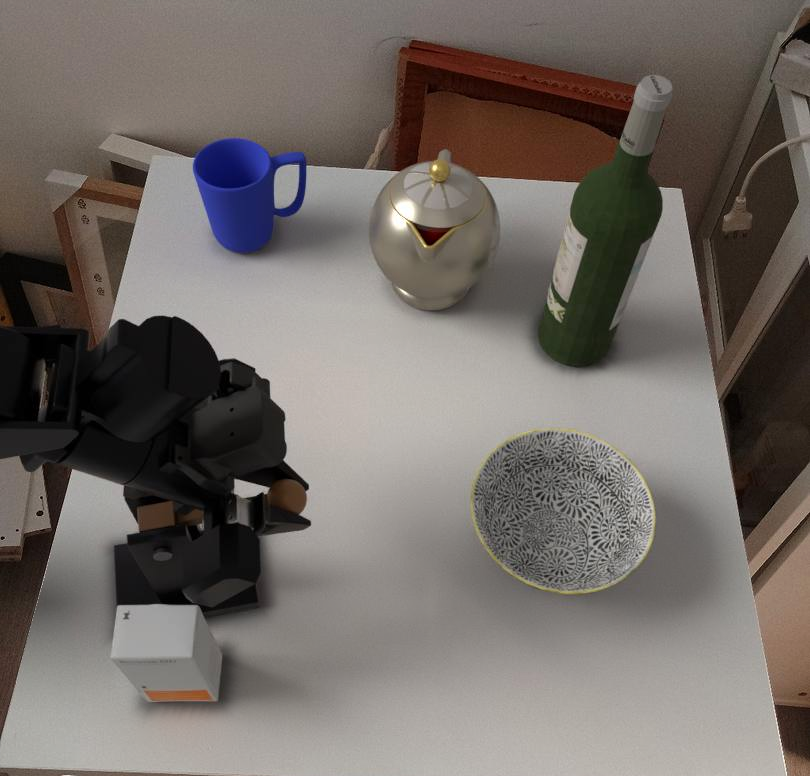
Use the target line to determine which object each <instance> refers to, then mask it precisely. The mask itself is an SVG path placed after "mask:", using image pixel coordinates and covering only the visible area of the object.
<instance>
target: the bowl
mask: <svg viewBox="0 0 810 776" xmlns="http://www.w3.org/2000/svg"><path fill="white" fill-rule="evenodd" d="M655 507H656V506H655V501H654V498H653V495H652V492H651V489H650V487H649V485H648V483H647V481H646V479H645V478H644V476H643V475H642V473H641V472H640V470H639V469H638V468H637V466H636V465H635V464H634V463H633V462H632V461H631V459H630V458H629V457H628V456H627V455H625V454H624V453H623V452H622V451H620V450H619V449H618V448H616V447H615V446H613V445H612V444H610V443H609V442H607V441H606V440H603V439H601V438H600V437H597V436H595V435H593V434H590V433H587V432H583V431H579V430H575V429H571V428H561V427H546V428H537V429H532V430H528V431H524V432H521V433H519V434H517V435H514V436H512V437H510V438H508V439H506V440H505V441H503V442H502V443H500V444H499V445H498V446H496V447H495V448H494V449H493V450H491V452H490V453H489V454H488V455H487V456H486V458H485V459H484V460H483V462H482V463H481V464H480V467H479V468H478V470H477V472H476V474H475V477H474V480H473V483H472V485H471V492H470V510H471V511H470V512H471V518H472V523H473V525H474V529H475V531H476V535H477V537H478V538H479V541H480V542H481V544H482V546H483V547H484V549H485V550H486V551H487V553H488V554H489V555H490V557H491V558H492V560H494V561H495V562H496V563H497V564H498V565H499V566H500V567H501V568H502V569H503V570H504V571H506V572H507V573H508V574H510V575H511V576H512V577H513V578H515V579H516V580H518V581H520V582H521V583H523V584H525V585H527V586H530V587H531V588H534V589H536V590H541V591H544V592H549V593H554V594H555V593H556V594H561V595H583V594H590V593H596V592H600V591H602V590H605V589H608V588H610V587H612V586H615V585H616V584H619V583H620V582H622V581H624V580H625V579H627V578H628V577H629V576H631V574H633V573H634V572H635V571H636V570H637V569H638V568H639V567H640V565H641V564H643V562H644V560H645V558H646V557H647V556H648V553H649V552H650V549H651V547H652V544H653V542H654V538H655V534H656V527H657V526H656V525H657V517H656V516H657V515H656V508H655Z"/></svg>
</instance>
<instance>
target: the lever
mask: <svg viewBox="0 0 810 776" xmlns="http://www.w3.org/2000/svg"><path fill="white" fill-rule="evenodd" d="M264 495H265V498H266V501H267V503H268V504H269V505H272V506H275V507H278V508H281V509H284V510H287V511H290V512H293V513H296V514H298V515H301V514H302V513H303V512H304V510H305V508H306V506H307V502H308V496H307V491H305V489H304V488H303V486H302V485H301V484H300V483H298V482H297V481H295V480H292V479H281V480H278V481H276V482H275V483H274V484H272V485H271V487H270V488H269V487H268V490H267V492H266V493H264ZM255 496H256V495H252V496H247V497H244V498H245V499H248V500H250V499H252V498H253V497H255ZM137 513H138V524H137V528H138V533H139V532H145V531H151V530H157V529H163V528H169V527H174V526H180V525H186V527H188V526H193V525H198V524H199V525H202V510H198V509H195V510H194V511H192V512H191V513H189V514H188V515H186V516H185V515H181V514H178V513H175V512H174V502H173V501H168V502H163V503H157V504H152V505H147V506H141V507H137Z"/></svg>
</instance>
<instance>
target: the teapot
mask: <svg viewBox="0 0 810 776" xmlns="http://www.w3.org/2000/svg"><path fill="white" fill-rule="evenodd" d="M452 159H453V153H452V152H451V151H450V149H447V148H444V149H442V150H440V151H439V152H438V155H437V158H436V159H435V160H428V161H422V162H418V163H414V164H412V165H409V166H407V167H405V168H404V169H402V170H400V171H399V172H397V173H395V175H394V176H392V177H391V178H390V179H389V180H388V181H387V182H386V183H385V184H384V186H383V187H382V189H381V190H380V191H379V193H378V195H377V196H376V198H375V201H374V203H373V205H372V207H371V212H370V216H369V222H368V237H369V238H368V239H369V244H370V245H369V246H370V249H371V252H372V255H373V258H374V260H375V262H376V265H377V266H378V268H379V269H380V271H381V272H382V274H383V275H384V276H385V277H386V279H387V280H388V281H390V283H391V287H392V289H393V291H394V293H395V294H396V295H397V297H398V298H399V299H400V300H401V301H402V302H404V303H405V304H407V305H408V306H410V307H412V308H415V309H419V310H422V311H441V310H445V309H449V308H451V307H454V306H455V305H456V304H458V303H459V302H460V301H462V300H463V298H465V296H466V295H467V293H468V292H469V289H470V288H471V287H473V286H474V285H475V284H476V283H478V282H479V281H480V280H481V279H482V278H483V277H484V276H485V274H486V273H488V272H487V271H488V270H489V269H490V268H491V266H492V264H493V261H494V260H495V257H496V255H497V252H498V248H499V245H500V239H501V218H500V213H499V210H498V206H497V203H496V200H495V199H494V196H493V195H492V192H491V191H490V189H489V188H488V187H487V185H486V184H485V183H484V182H483V181H482V180H481V179H480V178H479V176H477V175H476V174H474V173H473V172H472V171H470V170H469V169H467V168H465V167H463V166H461V165H459V164H456V163H454V162H452Z"/></svg>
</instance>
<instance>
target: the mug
mask: <svg viewBox="0 0 810 776" xmlns="http://www.w3.org/2000/svg"><path fill="white" fill-rule="evenodd" d="M307 163H308V162H307V158H306V155H305V153H303V152H302V151H293V152H285V153H281V154H277V155H274V156H270V154H269V152H268V151H267V150H266V149H265V147H263V146H262V145H260V144H259V143H257V142H255V141H252V140H249V139H246V138H239V137H238V138H237V137H231V138H230V137H229V138H222V139H218V140H215V141H213V142H211V143H209V144H207V145H205V146H204V147H202V148H201V149H200V150H199V151H198V152H197V153H196V155H195V156H194V159H193V162H192V172H193V175H194V178H195V182H196V185H197V188H198V191H199V194H200V198H201V200H202V203H203V207H204V209H205V212H206V213H205V214H206V216H207V219H208V222H209V225H210V228H211V231H212V233H213V236H214V238H215V239H216V241H217V242H218V244H219V245H221V246H222V247H223V248H224V249H226V250H228V251H231V252H234V253H240V254H246V253H252V252H255V251H258V250H260V249H262V248H263V247H264V246H266V245H267V244H268V243H269V242H270V240H271V238H272V236H273V234H274V228H275V227H274V226H275V216H276V217H278V218H288V217H291V216H294V215H295V214H297V213H298V212H299V211H300V209H301V208H302V206H303V204H304V200H305V196H306V190H307V189H306V188H307ZM293 164H298V186H297V191H296V196H295V198H294V199H293V201H292V203H291V204H289V205H288V206H285V207H281V208H279V207H276V206H275V205H276V204H275V176H276V173H277V171H278V169H280V168H281V167H284V166H287V165H288V166H289V165H293Z"/></svg>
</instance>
